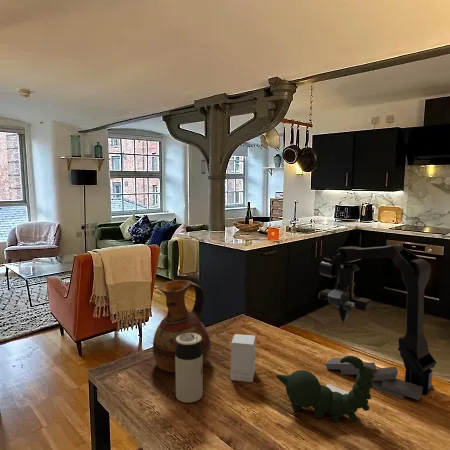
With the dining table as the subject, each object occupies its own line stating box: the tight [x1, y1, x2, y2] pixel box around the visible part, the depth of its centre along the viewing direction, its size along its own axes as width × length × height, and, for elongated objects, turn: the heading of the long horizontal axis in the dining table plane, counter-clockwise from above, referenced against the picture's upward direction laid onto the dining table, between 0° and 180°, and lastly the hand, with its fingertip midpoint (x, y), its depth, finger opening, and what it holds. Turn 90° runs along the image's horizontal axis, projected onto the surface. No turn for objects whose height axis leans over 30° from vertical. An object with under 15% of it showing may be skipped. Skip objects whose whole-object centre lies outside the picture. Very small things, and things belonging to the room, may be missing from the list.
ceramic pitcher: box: [152, 279, 212, 373], centre depth 124 cm, size 20×20×30 cm
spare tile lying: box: [325, 383, 350, 395], centre depth 106 cm, size 10×5×2 cm, turn 47°
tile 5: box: [371, 380, 406, 400], centre depth 111 cm, size 2×5×10 cm
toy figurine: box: [275, 355, 374, 423], centre depth 98 cm, size 9×19×25 cm
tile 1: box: [325, 357, 356, 370], centre depth 121 cm, size 2×5×10 cm
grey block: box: [382, 378, 423, 401], centre depth 108 cm, size 2×5×10 cm
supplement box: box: [230, 333, 257, 383], centre depth 118 cm, size 7×7×13 cm
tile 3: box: [372, 366, 399, 381], centre depth 114 cm, size 2×5×10 cm
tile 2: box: [339, 362, 377, 375], centre depth 118 cm, size 2×5×10 cm
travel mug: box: [174, 333, 204, 404], centre depth 106 cm, size 8×8×18 cm
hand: (343, 321), depth 133 cm, fingers closed
